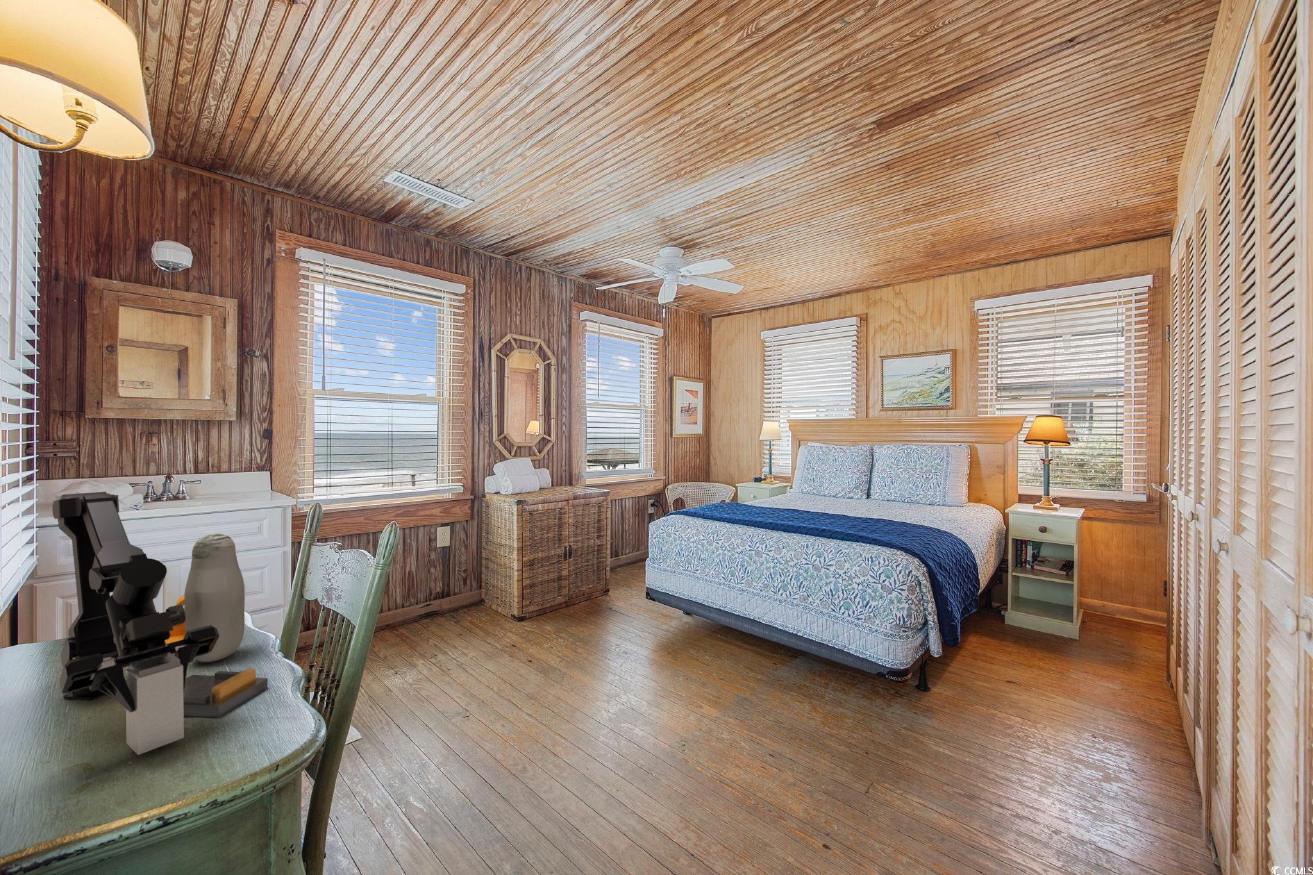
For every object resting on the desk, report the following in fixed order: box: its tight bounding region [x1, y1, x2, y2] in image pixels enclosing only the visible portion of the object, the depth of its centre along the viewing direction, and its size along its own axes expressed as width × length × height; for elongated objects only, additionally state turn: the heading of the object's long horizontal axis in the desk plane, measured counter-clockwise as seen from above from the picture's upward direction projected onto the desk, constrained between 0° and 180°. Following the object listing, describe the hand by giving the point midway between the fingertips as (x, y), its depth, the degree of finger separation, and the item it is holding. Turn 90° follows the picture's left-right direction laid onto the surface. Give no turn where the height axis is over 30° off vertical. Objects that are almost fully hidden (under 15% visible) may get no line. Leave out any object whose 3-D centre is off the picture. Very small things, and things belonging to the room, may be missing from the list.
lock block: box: [125, 652, 185, 756], centre depth 88 cm, size 6×6×13 cm
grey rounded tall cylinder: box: [183, 533, 246, 663], centre depth 121 cm, size 10×10×28 cm
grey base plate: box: [183, 668, 268, 718], centre depth 104 cm, size 16×11×4 cm
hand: (157, 702), depth 87 cm, fingers closed on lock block, 6 cm apart
